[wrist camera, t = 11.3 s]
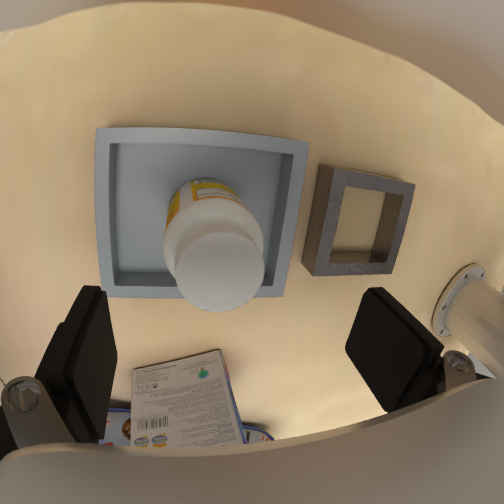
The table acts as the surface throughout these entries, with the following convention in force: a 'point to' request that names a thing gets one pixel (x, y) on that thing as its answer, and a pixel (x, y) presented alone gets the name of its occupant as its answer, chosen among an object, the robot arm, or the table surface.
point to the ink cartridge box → (185, 405)
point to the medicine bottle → (0, 387)
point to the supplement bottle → (213, 246)
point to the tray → (170, 180)
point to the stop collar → (326, 219)
